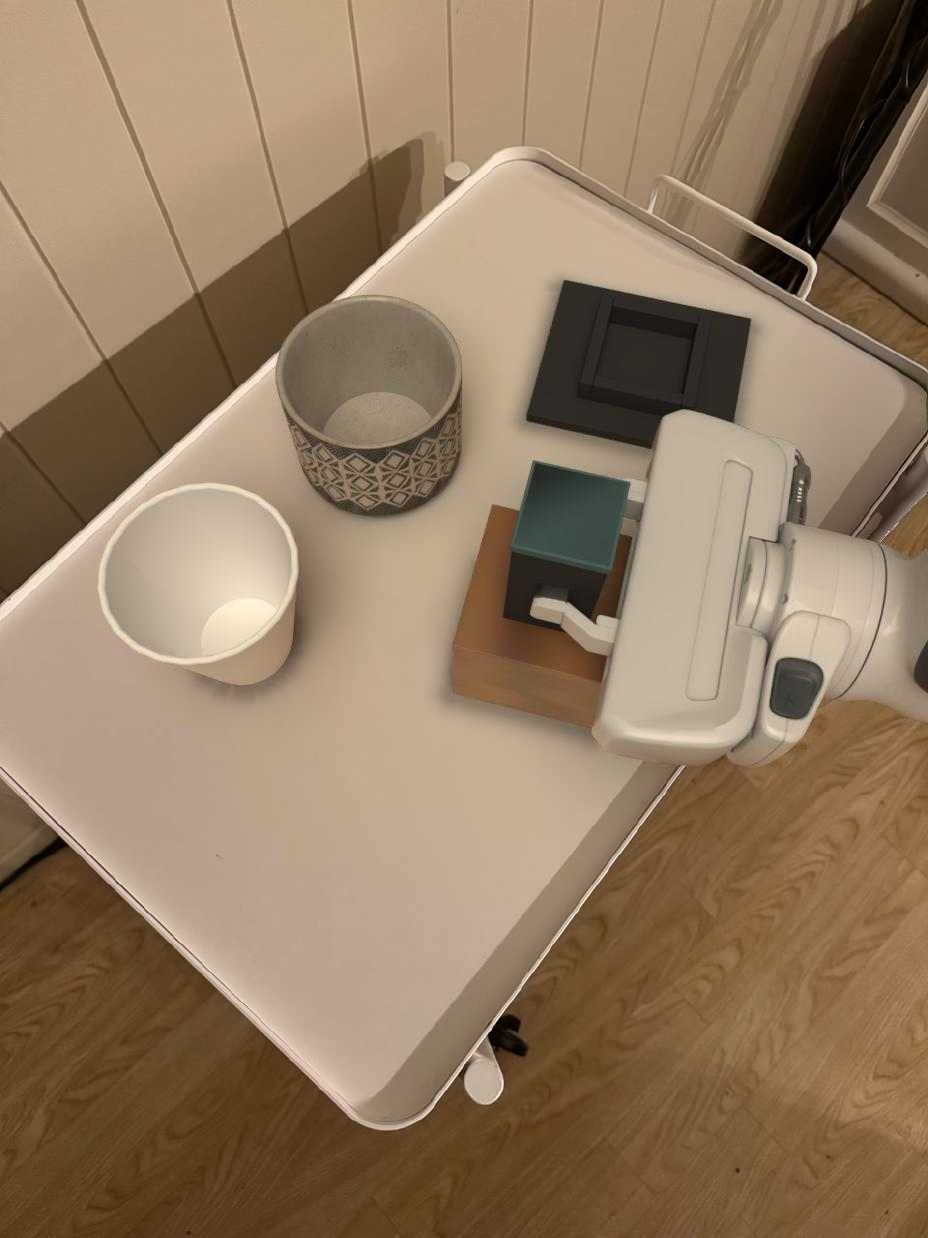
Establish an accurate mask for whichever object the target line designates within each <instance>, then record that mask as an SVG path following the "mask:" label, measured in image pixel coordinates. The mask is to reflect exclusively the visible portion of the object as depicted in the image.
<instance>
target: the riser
mask: <svg viewBox="0 0 928 1238" xmlns="http://www.w3.org/2000/svg"><path fill="white" fill-rule="evenodd" d="M519 511H520V509H515V508H511V507H508V506H507V507H506V506H502V505H498V504H493V503H492V504H491V507H490V510H489V515H488V517H487V521H486V525H485V529H484V532H483V536H482V539H481V543H480V546H479V549H478V554H477V558H476V560H475V564H474V568H473V571H472V575H471V578H470V582H469V584H468V590H467V592H466V596H465V600H464V603H463V606H462V610H461V614H460V617H459V621H458V624H457V628H456V632H455V635H454V639H453V641H452V642H453V643H452V688H453V689H452V693H453V694H454V695H458V696H463V697H467V698H470V699H474V700H479V701H482V702H485V703H490V704H494V705H498V706H502V707H506V708H510V709H513V710H518V711H522V712H525V713H529V714H534V715H538V716H541V717H545V718H548V719H549V718H550V719H554V720H558V721H561V722H566V723H569V724H573V725H577V726H581V727H585V728H588V729H592V726H593V721H594V717H595V712H596V707H597V702H598V698H599V693H600V688H601V683H602V679H603V674H604V669H605V664H606V660H607V656H606V655H602V654H598V653H594V652H590V651H586V650H585V649H584V648H583V647H582V646H581V645H580V644H579V643H578V642H577V641H576V640H575V639H574V638H572V637H571V636H570V635H569V634H568V633H564V632H560V631H556V630H552V629H547V628H543V627H539V626H535V625H531V624H527V623H523V622H519V621H515V620H510V619H506V618H503V613H504V605H505V598H506V590H507V583H508V575H509V567H510V560H511V551H510V544H511V541H512V537H513V533H514V529H515V526H516V522H517V518H518V514H519ZM632 537H633V536H630V535H627V534H624V533H623V534H622V533H620V535H619V540H618V544H617V549H616V554H615V558H614V563H613V567H612V571H611V574H608V575H607V577H606V580H605V583H604V585H603V588H602V590H601V593H600V595H599V598H598V601H597V603H596V606H595V608H594V611H593V613H592V616H591V619H590V620H591V621H592V622H593V623H594V624H595V621H596V619H597V616H599V615H603V616H608V617H612V618H615V617H616V612H617V608H618V603H619V598H620V593H621V589H622V584H623V579H624V575H625V570H626V565H627V560H628V556H629V551H630V546H631V541H632Z"/></svg>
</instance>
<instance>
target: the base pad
mask: <svg viewBox="0 0 928 1238" xmlns="http://www.w3.org/2000/svg"><path fill="white" fill-rule="evenodd" d="M751 323H752V318H751V317H746V316H741V315H736V314H731V313H726V312H722V311H717V310H712V309H707V308H702V307H699V306H694V305H693V306H692V305H688V304H682V303H678V302H673V301H669V300H664V299H659V298H654V297H651V296H650V297H649V296H644V295H641V294H635V293H630V292H625V291H620V290H616V289H611V288H606V287H603V286H602V287H601V286H598V285H597V286H596V285H592V284H588V283H582V282H577V281H573V280H568V279H564V280H563V283H562V286H561V290H560V292H559V297H558V300H557V304H556V307H555V311H554V315H553V318H552V322H551V325H550V329H549V333H548V336H547V340H546V344H545V347H544V351H543V354H542V357H541V358H542V359H541V361H540V364H539V369H538V373H537V376H536V379H535V383H534V387H533V391H532V394H531V398H530V401H529V405H528V408H527V413H526V417H525V420H526V421H527V422H531V423H535V424H540V425H544V426H549V427H552V428H558V429H562V430H568V431H571V432H576V433H581V434H585V435H587V436H588V435H589V436H594V437H598V438H602V439H605V440H611V441H615V442H621V443H625V444H630V445H634V446H638V447H642V448H647V449H651V447H652V443H653V440H654V437H655V434H656V431H657V429H658V426H659V424H660V422H661V419H662V418H663V417H664V416H665V415H668V414H670V413H673V412H676V411H678V410H682V409H685V410H691V411H695V412H699V413H703V414H706V415H709V416H713V417H716V418H719V419H722V420H725V421H728V422H731V423H734V422H735V416H736V410H737V405H738V400H739V393H740V387H741V381H742V376H743V370H744V364H745V359H746V354H747V353H746V352H747V348H748V347H747V346H748V342H749V336H750V330H751ZM734 424H735V423H734Z"/></svg>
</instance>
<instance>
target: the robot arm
mask: <svg viewBox="0 0 928 1238" xmlns="http://www.w3.org/2000/svg"><path fill="white" fill-rule="evenodd" d="M925 399H926V400H925V411H926V428H927V429H928V392H927V393H926V398H925ZM648 456H649V457H648V461H647V466H646V470H645V476H644V480H642V479H637V478H632V477H624V478H621V479H620V478H619V480H624V481H628V482H631V484H630V489H629V494H628V498H627V503H626V508H625V512H624V517H623V519H624V518H625V519H629V520H633V521H635V523H634V527H633V532H632V536H631V537H632V541H631V546H630V551H629V556H628V560H627V565H626V570H625V575H624V579H623V584H622V589H621V593H620V598H619V603H618V608H617V612H616V617H615V618H612V617H608V616H603V615H599V616H597V619H596V621H595V624H594V623H593V622H592V621H591V620H589V619H588V618H587V617H586V616H584V615H583V614H582V613H581V612H580V611H578V610H577V609H576V608H575V607H574V606H572V605H571V604H570V603H569V602H567V599H568V595H569V590H570V589H567V588H563V587H559V586H555V587H553V586H552V585H550V584H546V583H539V584H537V587H536V591H535V595H534V599H533V603H532V607H531V611H530V615H531V616H533V617H534V618H537V619H541V620H545V621H549V622H553V623H557V624H561V627H562V628H563V629H564V630H565V631H566V632H567V633H568V634H569V635H570V636H571V637H572V638H574V639H575V640H576V641H577V642H578V643H579V644H580V645H581V646H582V647H583V648H584V649H585V650H586V651H590V652H594V653H598V654H602V655H606V656H607V660H606V664H605V669H604V674H603V679H602V683H601V688H600V693H599V698H598V702H597V707H596V712H595V717H594V721H593V726H592V728H591V735H592V736H593V738H594V739H595V741H596V742H597V743H598V744H599V745H600V747H601V748H602V749H603V750H604V751H605V752H607V753H610V754H611V755H616V756H618V757H619V756H620V757H624V758H629V759H634V760H638V761H644V762H650V763H657V764H664V765H672V766H673V765H674V766H683V767H699V766H705V765H708V764H712V763H713V762H715V761H717V760H718V759H720V758H721V757H722V756H724V755H726V757H727V759H728V760H729V761H730V762H731V763H733V764H735V765H736V766H740V767H743V768H748V769H757V768H761V767H764V766H767V765H768V764H771V763H773V762H775V761H776V760H778V759H779V758H781V757H782V756H783V755H785V754H786V753H788V752H789V751H790V750H791V749H793V747H795V746H796V745H797V744H798V743H799V742H800V741H801V740H802V739H803V738H804V736H805V734H806V733H807V731H808V729H809V727H810V726H811V723H812V721H813V719H814V717H815V715H816V713H817V711H818V709H819V706H820V704H821V702H822V700H823V699H826V700H830V701H836V702H867V703H873V704H877V705H881V706H883V707H885V708H887V709H889V710H891V711H893V712H895V713H896V714H897V715H900V716H902V717H903V718H906V719H909V720H913V721H916V722H920V723H925V724H928V546H926V547H925V548H924V549H923V551H921V552H920V553H919V554H918V556H916V557H912V556H908V555H906V554H904V553H902V552H899V551H898V550H896V549H894V548H893V547H890V546H889V545H887V544H885V543H882V542H879V541H875V540H870V539H866V538H862V537H857V536H853V535H850V534H849V535H848V534H845V533H840V532H835V531H832V530H826V529H822V528H818V527H814V526H810V525H806V523H807V515H808V493H809V490H810V488H811V484H812V469H811V467H810V466H809V465H808V464H806V462H805V459H804V456H803V455H802V453H801V452H800V451H799V449H798V448H797V447H796V445H795V444H794V443H793V442H791V441H789V440H786V439H784V438H783V439H782V438H778V437H774V436H769V435H766V434H765V435H764V434H762V433H759V432H757V431H755V430H752V429H750V428H748V427H745V426H742V425H740V424H736V423H731V422H728V421H725V420H722V419H719V418H716V417H713V416H709V415H706V414H703V413H699V412H695V411H691V410H685V409H682V410H678V411H676V412H673V413H670V414H668V415H665V416H664V417H663V418H662V419H661V422H660V424H659V426H658V429H657V431H656V434H655V437H654V440H653V443H652V447H651V448H650V453H649V455H648ZM795 461H796V463H797V464H796V465H795ZM926 539H927V542H928V535H927V536H926Z"/></svg>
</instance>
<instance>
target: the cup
mask: <svg viewBox="0 0 928 1238" xmlns="http://www.w3.org/2000/svg"><path fill="white" fill-rule="evenodd" d="M299 557H300V556H299V548H298V546H297V542H296V540H295V536H294V533H293V530H292V527H291V526H290V525H289V523H288V522H287V521H286V520H285V518H284V516H283V515H282V514H281V512H280V511H279V509H277V508H276V507H275V506H274V505H272V504H271V503H270V502H268V501H267V500H266V499H265V498H263V497H262V496H261V495H259V494H258V493H255V492H253V491H250V490H248V489H246V488H243V487H241V486H238V485H234V484H226V483H221V482H213V481H209V482H198V483H186V484H183V485H180V486H177V487H174V488H170V489H168V490H163V491H162V492H161V491H160V493H158V494H156V495H155V496H153V497H151V498H149V499H148V500H146V501H144V502H142V503H140V504H139V505H138V506H137V507H136V508H135V509H133V510H132V511H131V512H130V513H129V514H128V515H127V516H126V517H124V519H122V520H121V522H120V523H119V525H118V526H117V527H116V529H115V530H114V532H113V533H112V535H111V536H110V537H109V540H108V541H107V542H106V544H105V548H104V550H103V554H102V556H101V559H100V562H99V565H98V576H97V594H98V597H99V603H100V607H101V610H102V614H103V616H104V618H105V619H106V621H107V622H108V624H109V626H110V628H111V629H112V631H113V632H114V634H115V635H116V636H117V637H118V638H119V639H120V640H122V641H123V642H124V643H125V644H126V645H127V646H128V647H130V648H131V649H132V650H133V651H134V652H136V653H138V654H141V655H142V656H145V657H147V658H150V659H151V660H154V661H156V662H159V663H160V662H161V663H165V664H166V663H167V664H170V665H173V666H176V667H179V668H181V669H185V670H187V671H190V672H193V673H196V674H199V675H202V676H205V677H207V678H211V679H213V680H216V681H219V682H222V683H225V684H229V685H234V686H235V685H236V686H247V685H254V684H258V683H261V682H263V681H265V680H267V679H269V678H270V677H272V676H273V675H275V674H276V673H277V672H278V671H279V670H280V669H281V668H282V667H283V666H284V665H285V663H286V661H287V659H288V657H289V656H290V654H291V650H292V646H293V642H294V627H295V615H296V613H295V612H296V599H297V587H298V586H297V585H298V580H299V579H298V578H299V575H300V561H299V560H300V559H299Z"/></svg>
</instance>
